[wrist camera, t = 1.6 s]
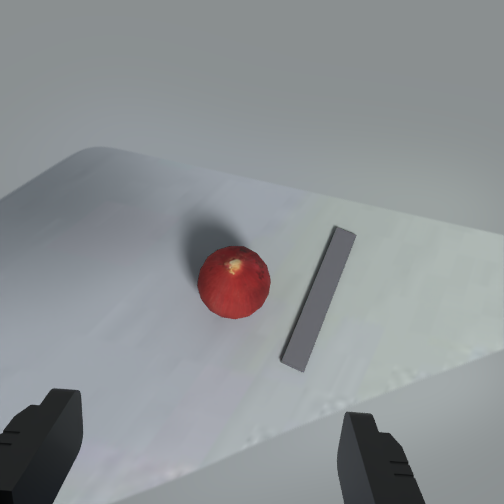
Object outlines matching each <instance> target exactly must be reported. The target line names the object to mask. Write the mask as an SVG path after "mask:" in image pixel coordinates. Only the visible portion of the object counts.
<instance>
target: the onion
mask: <svg viewBox="0 0 504 504" xmlns="http://www.w3.org/2000/svg"><path fill="white" fill-rule="evenodd" d="M270 283H271V281H270V275H269V271H268V268H267V265H266V264H265V263H264V261H263V260H262V259H261V258H260V256H259V255H258V254H257V253H255V252H253V251H252V250H250V249H248V248H246V247H244V246H229V247H225V248H222V249H219V250H217V251H215V252H214V253H213V254H211V255H210V256H209V257H207V259H206V261H205V263H204V264H203V266H202V268H201V269H200V273H199V278H198V285H197V286H198V290H199V293H200V297H201V299H202V301H203V302H204V304H205V305H206V306H207V307H208V309H209V310H210V311H212V312H213V313H215V314H217V315H219V316H221V317H224V318H231V319H238V318H243V317H248V316H250V315H251V314H252V313H254V312H255V311H256V310H258V309H259V308H260V307H261V306H262V305H263V303H264V302H265V300H266V298H267V296H268V294H269V288H270Z"/></svg>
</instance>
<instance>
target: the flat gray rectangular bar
mask: <svg viewBox="0 0 504 504" xmlns="http://www.w3.org/2000/svg"><path fill="white" fill-rule="evenodd" d="M355 238H356V235H355V234H353V233H350V232H348V231H345V230H343V229H341V228H338V227H337V228H336V230H335V233H334V235H333V237H332V240H331V242H330V245H329V247H328V250H327V252H326V254H325V257H324V259H323V262H322V264H321V267H320V269H319V271H318V274H317V276H316V279H315V281H314V283H313V286H312V288H311V291H310V293H309V296H308V298H307V300H306V303H305V305H304V308H303V310H302V313H301V315H300V317H299V320H298V322H297V325H296V327H295V330H294V332H293V334H292V337H291V339H290V342H289V344H288V347H287V349H286V351H285V354H284V356H283V359H282V361H281V363H284V364H286V365H288V366H290V367H292V368H294V369H297V370H299V371H301V372H304V371H305V368H306V365H307V363H308V360H309V358H310V355H311V352H312V350H313V347H314V345H315V342H316V339H317V337H318V334H319V331H320V329H321V326H322V324H323V321H324V318H325V316H326V313H327V311H328V308H329V305H330V303H331V300H332V298H333V295H334V292H335V290H336V287H337V285H338V282H339V279H340V277H341V274H342V272H343V269H344V266H345V264H346V261H347V259H348V256H349V253H350V251H351V248H352V246H353V243H354V240H355Z"/></svg>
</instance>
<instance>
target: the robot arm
mask: <svg viewBox="0 0 504 504" xmlns="http://www.w3.org/2000/svg"><path fill="white" fill-rule="evenodd" d="M82 439H83V419H82V403H81V393H80V391H79V390H69V389H56V388H53V389H52V390H50V392H49V393H48V394H47V396H46V397H45V399H44V400H43V401H42V403H41V404H40V405H30V406H28V407H27V408H26V409H24V410H23V411H21V412H20V413H18V414H17V415H16V416H14V417H13V419H12V420H11V421H10V423H9V424H8V425H7V426H6V428H5V429H4V430H3V433H1V434H0V504H53V502H54V500H55V498H56V496H57V494H58V492H59V490H60V488H61V486H62V484H63V482H64V480H65V478H66V476H67V475H68V473H69V471H70V469H71V467H72V465H73V463H74V461H75V459H76V457H77V455H78V453H79V450H80V447H81V444H82ZM337 469H338V476H339V480H340V485H341V490H342V495H343V499H344V504H425V501H424V499H423V496H422V494H421V492H420V489H419V487H418V485H417V482H416V480H415V478H414V475H413V472H412V470H411V468H410V466H409V465H408V460H407V458H406V455H405V453H404V451H403V448H402V446H401V445H400V444H399V443H398V442H397V441H396V440H395V439H394V438H393V436H392V435H391V434H390V433H382V432H379V431H378V429H377V426H376V423H375V420H374V418H373V415H372V414H369V413H356V412H346V413H345V416H344V420H343V426H342V431H341V437H340V442H339V447H338V454H337Z"/></svg>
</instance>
